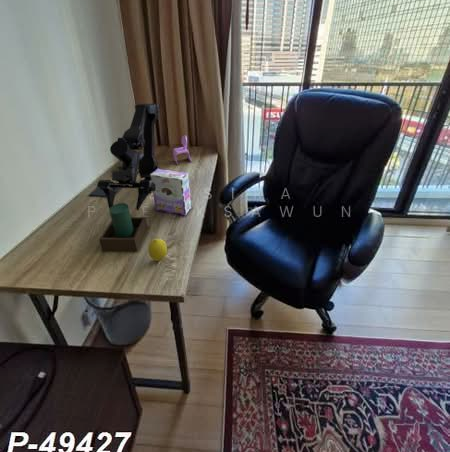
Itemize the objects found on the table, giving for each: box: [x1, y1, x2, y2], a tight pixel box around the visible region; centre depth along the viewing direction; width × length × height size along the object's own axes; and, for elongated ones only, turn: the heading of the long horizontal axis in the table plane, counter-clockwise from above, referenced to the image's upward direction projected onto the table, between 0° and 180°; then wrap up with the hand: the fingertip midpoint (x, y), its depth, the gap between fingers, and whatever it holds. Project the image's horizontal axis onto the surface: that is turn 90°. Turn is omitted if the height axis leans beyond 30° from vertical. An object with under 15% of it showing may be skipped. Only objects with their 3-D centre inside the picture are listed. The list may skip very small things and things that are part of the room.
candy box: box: [150, 168, 192, 216], centre depth 99 cm, size 14×6×16 cm, turn 71°
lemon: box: [147, 238, 168, 262], centre depth 77 cm, size 6×6×8 cm
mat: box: [89, 185, 125, 198], centre depth 116 cm, size 11×11×1 cm
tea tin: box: [108, 202, 135, 238], centre depth 84 cm, size 6×6×12 cm
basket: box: [98, 216, 149, 252], centre depth 86 cm, size 12×12×5 cm
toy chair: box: [172, 135, 193, 165], centre depth 140 cm, size 8×9×15 cm
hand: (123, 210), depth 85 cm, fingers open, 9 cm apart
